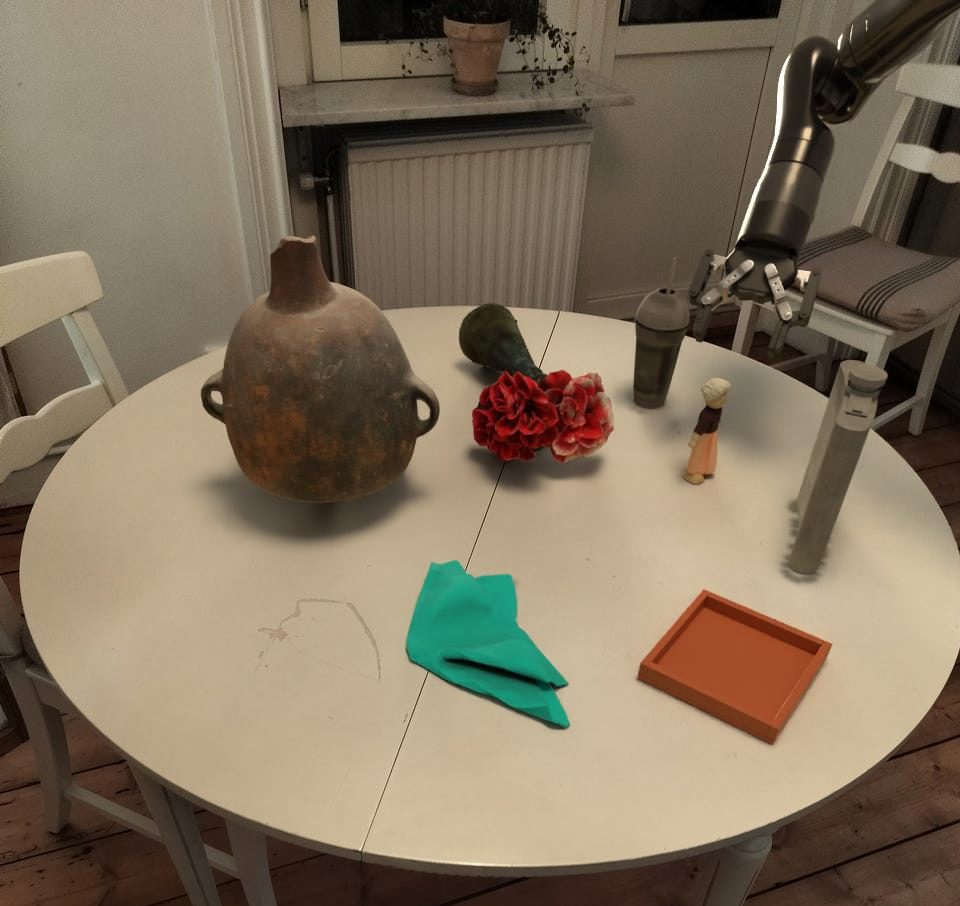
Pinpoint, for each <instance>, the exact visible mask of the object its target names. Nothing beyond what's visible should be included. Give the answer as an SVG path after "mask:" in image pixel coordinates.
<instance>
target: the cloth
mask: <svg viewBox="0 0 960 906" xmlns="http://www.w3.org/2000/svg"><path fill="white" fill-rule="evenodd" d="M516 591H517V590H516V586H515V583H514V579H513V577H512V574H509V573H501V574H488V575H481V576H477V577H474V575H473V574H471V573H470V574H469V573H467V572H466V570H465V568H464V567H463V566H462V564H461V563H460V561H459V560H457V559H455V560H454V559H453V560H450V561H447V562H443V563H437V562H433V561H431V562H430V564H429V567H428V570H427V573H426V576H425V578H424V581H423V584H422V586H421V589H420V592H419V595H418V597H417V600H416V602H415V606H414V609H413V613H412V616H411V620H410V624H409V628H408V632H407V636H406V645H405V646H406V649H407V653H408V656H409V660H411V661H412V662H415V663H416V662H417V663H416V664H418V665H420V666H421V665H422V666H421V667H423V668H425V669H427V668H428V669H429V670H428V669H427V670H428V671H430V670H431V671H430V672H431V673H433V674H435V675H437V676H439V677H440V678H442V679H444V680H447V681H449V682H452V683H454V684H457V685H460V686H462V687H464V688H467V689H470V690H472V691H474V692H477V693H478V694H481V695H482V694H483V695H485V696H489V697H492V698H495V699H497V700H499V701H501V702H502V703H504V704H506V705H508V706H509V707H511V708H513V709H516V710H519V711H522V712H523V713H527V714H529V715H531V716H534V717H538V718H540V719H541V720H545V721H547V722H550V723H553V724H556V725H559V726H561V727H563V728H568V727H570V726H571V723H570V720H569V717H568V715H567V713H566V710H565V708H564V707H563V705H562V703H561V701H560V699H559V697H558V696H557V694H556V692H555V690H554V688H553V687H552V685H554V686H555V687H557V688H558V687H562V686H563V687H564V686H568V685H569V684H570V683H569V682H568V680H566V678H565V677H564V676H563V675H562V674H561V673H560V671H559V670H558V669H557V668H556V667H555V666H554V664H553V663H551V661H550V660H549V659H548V658H547V657H546V656H545V654H544V653H543V652H542V651H541V650H540V649H539V647H538V646H537V645H536V644H535V642H534V641H533V640H532V638H531V636H529V634H528V633H527V632H526V631H525V630H524V629H522V628H521V627H519V623H518V622H517V615H518V597H517V592H516ZM551 684H552V685H551Z"/></svg>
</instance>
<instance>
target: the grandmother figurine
mask: <svg viewBox="0 0 960 906" xmlns="http://www.w3.org/2000/svg"><path fill="white" fill-rule="evenodd" d="M731 387H732V386H731V384H730V382H729V381H727V380H726V379H724V378H719V377H714V378H711V379H709V380H707V381H706V382H705V384H704V385H702V386H701V388H700V392H702V397H703V399H704V403H705V406H704V408H703V409H702V410H701V411H700V413H699V415H698V418H697V421H696V422H697V423H696V425H695V427H694V429H693V430H692V434H691V436H690V440H689V441H688V443H687V446H688V448H690V449H691V452H690V455H689V458H688V461H687V465H686V471H684V473H683V474H682V478H684V479H685V480H686V481H688V483H691V484H693V485H701V484H702V483H704V482H705V477H704V476H709V475H711V474H712V473H715V471H716V469H717V462H718V442H719V425H721V423H722V422H723V421H722V420H723V419H722V418H723V417H722V415H723V406H725V404H726V402H727V400H728V393H729V392H730V391H731V389H732V388H731Z"/></svg>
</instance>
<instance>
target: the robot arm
mask: <svg viewBox="0 0 960 906" xmlns="http://www.w3.org/2000/svg"><path fill="white" fill-rule="evenodd" d="M958 13H960V0H873V1H872V2H871V3H870V4H869V5H867V6H866V7H865V8H864V9H862V11H860V13H858V14H857V15H856V16H854V17H853V18H852V19H851V20H850V21H849V23H848V24H847V25H846V26H845V28H843V31H842V32H841V34H840V35H839V39H838V42H837V43H835V42H834V41H832V40H831V39H828V38H826V37H824V36H821V35H812V36H811V35H810V36H808V37H806V38H804V39H803V40H801V41H800V42H799V43H798V44H797V45H796V46H795V47H794V48H792V50H791V51H790V53H789V55H788V56H787V58H786V60H785V61H784V64H783V67H782V69H781V72H780V76H779V79H778V85H777V92H776V93H777V94H776V111H775V123H774V133H773V134H774V135H773V142H772V145H771V147H770V151H769V154H768V157H767V160H766V163H765V166H764V168H763V171H762V174H761V175H760V178H759V180H758V182H757V183H756V186H755V187H754V191H753V193H752V196H751V199H750V202H749V204H748V206H747V207H748V208H747V211H746V214H745V216H744V218H743V222H742V225H741V228H740V231H739V233H738V237H737V239H736V242H735V245H734V248H733V250H732V251H731V253H730V254H729V255H728V256H723V255H719V254H715V251H714V249H712V248H708V249H706V250H704V253H703V254H702V257H701V259H700V262H699V265H698V266H697V269H696V272H695V274H694V276H693V279H692V281H691V283H690V285H689V288H688V290H687V291H688V299H689V300H688V301H689V305H691V306H696V307H697V308H698V310H697V313H696V315H695V319H694V322H693V324H692V334H693V337H695V342H696V343H700V344H701V343H703V342H704V339H705V336H706V333H707V330H708V327H709V325H710V321H711V318H712V315H713V311H714V310H716V309H717V308H718V307H719V306H721V305H724V304H726V303H727V302H730V300H732V299H733V298H735V297H736V298H737V300H738V301H744V302H745V301H752V302H754V303H756V304H760V305H765V304H766V303H770V304H771V306H772V309H773V312H774V314H775V315H776V317H777V321H776V323H775V326H774V329H773V332H772V335H771V338H770V340H769V344H768V346H767V350H766V358H770V359H773V358H774V357H775V354H776V355H779V354H780V353H781V352H782V351H783V348H784V345H785V343H786V339H787V336H788V333H789V331H790V329H792V328H793V327H800V328H806V327H807V326H808V325H809V323H810V320H811V316H812V314H813V309H814V306H815V302H816V300H817V299H816V298H817V294H818V291H819V288H820V285H821V284H820V283H821V280H822V279H821V277H822V269H820V268H819V267H814V268H812V269H811V270H810V271H809V270H803V269H799V268H798V264H799V260H800V258H801V254H802V251H803V248H804V246H805V243H806V240H807V237H808V234H809V231H810V228H811V226H812V225H813V222H814V220H815V218H816V217H815V215H816V211H817V209H818V205H819V201H820V196H821V191H822V187H823V185H824V182H825V179H826V176H827V173H828V171H829V167H830V165H831V162H832V159H833V156H834V152H835V147H836V140H835V139H836V138H835V135H834V133H833V131H832V130H831V129H830V128H829V127H833V128H835V127H837V128H838V127H843V126H845V125H848V124H850V123H851V122H852V121H854V120H855V119H856V118H857V117H858V115H860V113H861V112H862V111H863V109H864V108H865V106H866V105H867V103H868V102H869V100H870V99H871V97H872V96H873V95H874V94H875V92H876V91H877V90H878V89H879V88H880V86H881V85H882V84H883V83H884V81H885V80H887V78H888V77H889V76H890V75H892V74H893V73H895V72H896V71H898V70H899V69H901V68H902V67H903V66H905V65H906V64H908V63H909V62H910V61H912V60H913V59H914V58H916V57H917V56H919V55H920V54H921V53H922V52H924V51H925V50H926V49H927V48H928V47H929V46H930V45H931V44H933V43H934V42H935V40H936V39H938V37H939V36H941V34H942V33H943V32H944V30H945V28H946V27H948V24H950V21H951V20H952V19H953V18H954V17H955V16H956V15H957V14H958ZM721 269H724V272H725V274H726V276H724V278H722V279H721V280H719V281H718V282H717V283H716V285H715V286H714V287H713V288H712V289H710V290H709V291H707V293H704V292H705V289H706V287H707V284H708V283H709V280H710V278H711V276H714V275H717V274H718V272H719V270H721ZM796 282H797V283H798V284H799V291H801V292H802V293H804V294H803V297H802V300H801V304H800V308H799V310H793V311H792V308H791V306H790V303H789V301H788V297H787V294H786V290H788V289H789V288H791V287H792V286H793V285H794V284H795V283H796Z"/></svg>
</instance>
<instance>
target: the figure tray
mask: <svg viewBox="0 0 960 906" xmlns="http://www.w3.org/2000/svg"><path fill="white" fill-rule="evenodd" d="M832 647H833V643H831V642H829V641H827V640H824V639H822V638H820V637H817V636H816V635H813V634H810V633H808V632H806V631H803V630H801V629H798V628H797V627H794V626H792V625H789V624H786V623H784V622H782V621H780V620H777V619H775V618H773V617H771V616H768V615H766V614H763V613H761V612H758V611H757V610H754V609H752V608H749V607H747V606H744V605H742V604H741V603H737V602H736V601H733V600H731V599H728V598H726V597H724V596H721V595H718V594H716V593H714V592H711V591H710V590H708V589H705V588H703V589H702V590H701V591H700V592H699V594H697V595H696V597H695V598H694V599H693V600H692V602H691V603H690V604H689V605H688V606H687V608H685V610H684V611H683V612H682V613H681V614H680V616H679V617H678V618H677V619H676V620H675V622H674V623H673V624H672V625H671V626H670V627H669V628H668V630H667V631H666V632H665V633H664V635H663V636H662V637H661V638H660V639H659V640H658V642H657V643H656V644H655V645H654V646H653V647H652V649H650V651H649V652H648V653H647V654H646V656H645V657H644V658H643V659H642V660H641V662H640V663H639V668H638V673H637V679H638V680H639V681H642V682H644V683H646V684H648V685H650V686H652V687H654V688H656V689H658V690H659V691H663V692H664V693H667V694H668V695H670V696H673V697H674V698H676V699H679V700H681V701H683V702H684V703H686V704H688V705H691V706H693V707H695V708H697V709H699V710H701V711H703V712H705V713H707V714H709V715H712V716H713V717H715V718H717V719H719V720H721V721H724V722H726V723H727V724H729V725H732V726H734V727H735V728H738V729H740V730H741V731H744V732H746V733H748V734H750V735H752V736H754V737H756V738H757V739H760V740H762V741H764V742H766V743H768V744H771V745H774V744H775V742H776V741H777V739H778V737H779V736H780V734H781V733H782V731H783V729H784V728H785V726H786V724H787V723H788V722H789V720H790V718H791V716H792V715H793V713H794V712H795V710H796V709H797V707H798V705H799V704H800V703H801V701H802V699H803V698H804V696H805V695H806V693H807V691H808V689H809V688H810V686H811V685H812V683H813V681H814V680H815V678H816V676H817V675H818V674H819V672H820V670H821V669H822V667H823V665H824V664H825V663H826V661H827V659H828V657H829V654H830V651H831V649H832Z"/></svg>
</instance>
